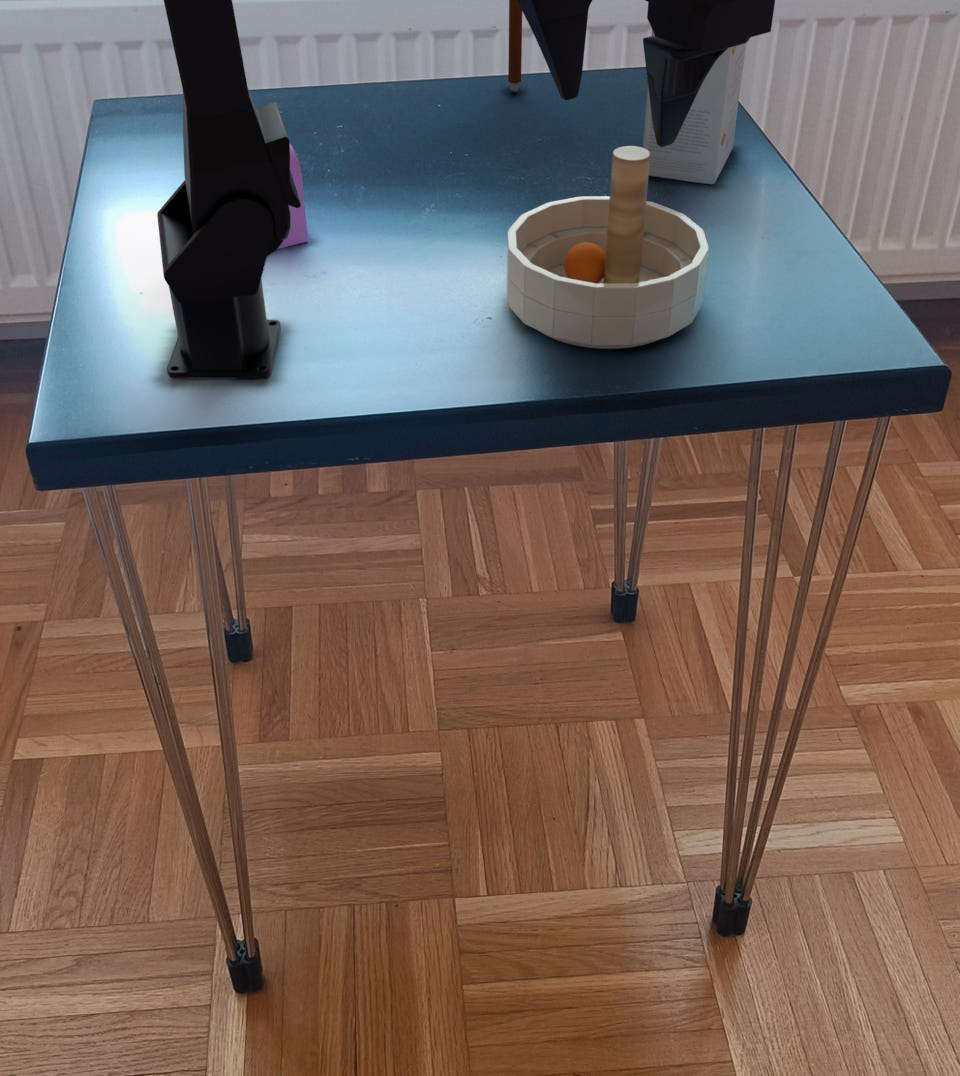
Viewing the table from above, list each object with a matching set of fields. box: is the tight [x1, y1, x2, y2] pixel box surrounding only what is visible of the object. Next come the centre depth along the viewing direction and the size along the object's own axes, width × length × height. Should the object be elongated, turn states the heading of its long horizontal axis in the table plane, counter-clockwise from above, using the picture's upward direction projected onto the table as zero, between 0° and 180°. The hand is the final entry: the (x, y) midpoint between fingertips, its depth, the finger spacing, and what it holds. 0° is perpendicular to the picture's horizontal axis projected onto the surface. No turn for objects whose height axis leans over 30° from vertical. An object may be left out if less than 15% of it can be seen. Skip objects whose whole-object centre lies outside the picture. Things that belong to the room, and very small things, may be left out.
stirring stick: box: [604, 145, 651, 283], centre depth 82 cm, size 2×2×10 cm
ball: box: [564, 242, 606, 284], centre depth 86 cm, size 3×3×3 cm
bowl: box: [506, 195, 710, 350], centre depth 84 cm, size 13×13×5 cm
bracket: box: [277, 143, 309, 250], centre depth 94 cm, size 13×6×7 cm, turn 30°
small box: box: [642, 29, 747, 185], centre depth 100 cm, size 8×6×13 cm
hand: (615, 120), depth 77 cm, fingers open, 9 cm apart
